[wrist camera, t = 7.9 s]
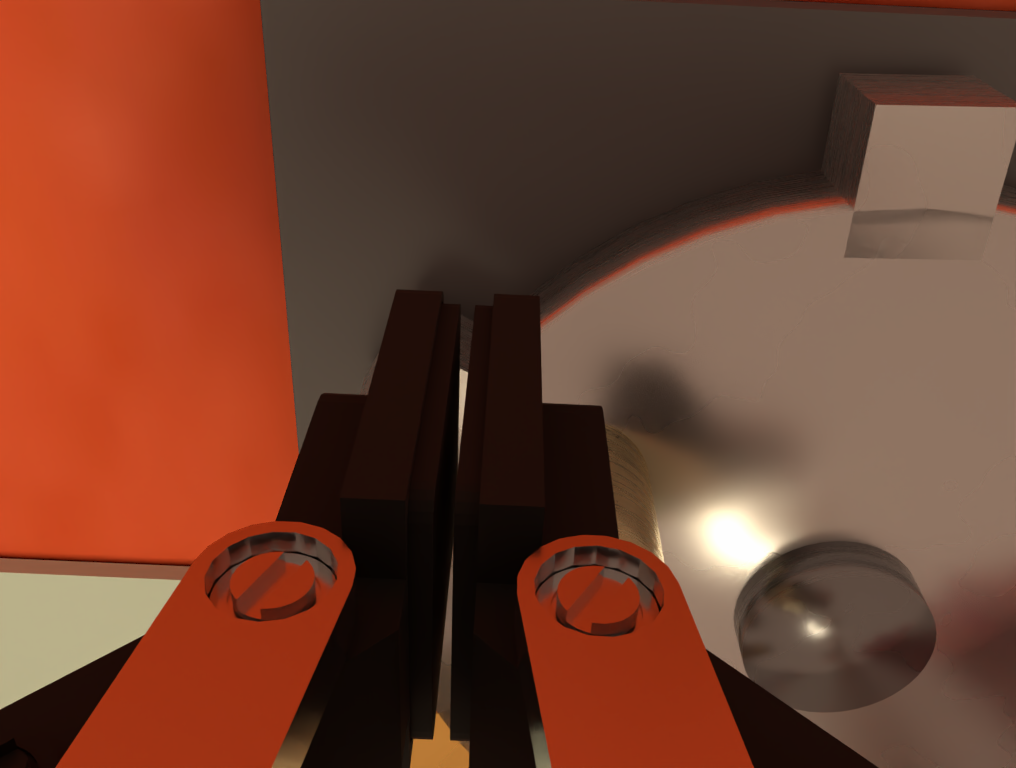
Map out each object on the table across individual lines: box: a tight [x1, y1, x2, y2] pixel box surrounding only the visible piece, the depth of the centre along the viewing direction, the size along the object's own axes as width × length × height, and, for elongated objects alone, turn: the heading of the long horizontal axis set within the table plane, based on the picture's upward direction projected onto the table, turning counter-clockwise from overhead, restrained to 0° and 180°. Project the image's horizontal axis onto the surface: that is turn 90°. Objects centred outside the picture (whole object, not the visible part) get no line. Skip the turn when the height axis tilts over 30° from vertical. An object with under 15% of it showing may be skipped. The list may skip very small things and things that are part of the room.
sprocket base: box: [260, 0, 1016, 453], centre depth 18 cm, size 18×18×1 cm
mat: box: [0, 558, 190, 709], centre depth 22 cm, size 11×10×1 cm
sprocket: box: [360, 73, 1016, 768], centre depth 14 cm, size 15×17×8 cm
